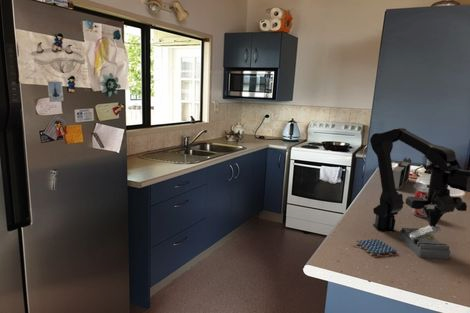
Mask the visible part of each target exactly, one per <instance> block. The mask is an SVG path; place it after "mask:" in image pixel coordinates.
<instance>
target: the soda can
mask: <svg viewBox="0 0 470 313" xmlns="http://www.w3.org/2000/svg"><path fill="white" fill-rule="evenodd" d="M425 196H428V189H426V188H417V190H416V191H415V193H414V197H419V198H420V199H422V200H427V199H426V198H425ZM412 213H413V215H415V217H419V218H427V215H426V213H425V210H424V209H423V208H422V209H414V208H412Z"/></svg>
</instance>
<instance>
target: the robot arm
mask: <svg viewBox="0 0 470 313" xmlns="http://www.w3.org/2000/svg"><path fill="white" fill-rule="evenodd" d="M369 139H370V140H369V142H370V145H371V149H372V151H373V153H374V154H375V155H376V158H377V163H378V169H379V177H380V185H381V194H380V196H379V205H377V206H375V207H374V208H373V209H372V210H373V214H374V215H375V220H374V223H373V224H372V226H373V227H374V228H375V229H376V230H377V231H378V232H390V233H392V232H393V233H395V230H394V229H395V225H396V216H397V215H398V214H399V212H400V211H402V210H403V207H404V204H406V205H407V206H408V207H410V208H411V209H413V208H414V209H422V208H423V209H424V210H425V213H426V215H427V217H426V218H427V221H428V225H430V226H431V227H432V226H433V227H435V226H436V225H438V223H439V221H440V220H441V218H442V217H443V216H444V215H445V214H446V213H453V212H454V211H455V210H456V211H460V212H467V209H468V204H467V203H466V202H465V201H463V199H462V197H461V196H452V195H451V190H450V189H455V190H459V191H464V192H467V193H470V170H465V169H462V167H461V165H460V163H459V162H458V160H457V155H456V152H455V151H454V150H453V149H452V148H448V147H445V146H442V145H439V144H433V143H431V142H429V141H427V140H425V139H424V138H422V137H420V136H418V135H417V134H415V133H412V132H411V131H409V130H407V129H406V128H404V127H396V128H393V129H391V130H388V131H383V132H376V133H373V134H372V135H371V137H370V138H369ZM398 141H400V142H402V143H404V144H405V145H407V146H409V147H411V148H412V149H414V150H415V151H418V152H420V153H421V154H422V155H424V157H425V159H426V160H427V161H429V162H430V164H429V165H427V166H425V168H424V169H425V170H428V171H431V172H430V176H429V184H426V188H428V189H427V190H428V196H425V198H426V199H427V200H422V199H420V198H419V197H415V196H407V197H406V198H405V202H404V198H403V194H402V193H399V192H398V190H396V189H395V182H394V176H393V169H394V168H393V164H392V163H393V162H392V157H391V153H392V150H393V148H394V143H397V142H398ZM449 187H450V189H449Z"/></svg>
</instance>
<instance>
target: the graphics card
mask: <svg viewBox="0 0 470 313" xmlns="http://www.w3.org/2000/svg"><path fill="white" fill-rule="evenodd" d="M411 166H412V159H411V157H408V158H407V157H404V158H403V159H402V160H401V161H400V162H399V161H398V164H397V165H396V166H394V168H392V169H393V176H394V182H395V189H396V191H399V190H400V189H402V187H403V185H405V184H406V183H407V182H408V181H409V179H410V172H411Z"/></svg>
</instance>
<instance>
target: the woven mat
mask: <svg viewBox="0 0 470 313" xmlns="http://www.w3.org/2000/svg"><path fill="white" fill-rule="evenodd" d="M355 245H356V246H358V247H359V248H360V249H362V250H363V252H365V253H367V254H369V255H370V256H373V258H381V256H382V257H389V256H397V255H399V254H398V250H397V249H395V248H393V247H392V246H390V245H388V244H387V243H386V242H383V240H381V239H377V238H375V239H373V238H372V239H371V240H370V239H367V240H366V239H364V240H356V244H355Z"/></svg>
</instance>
